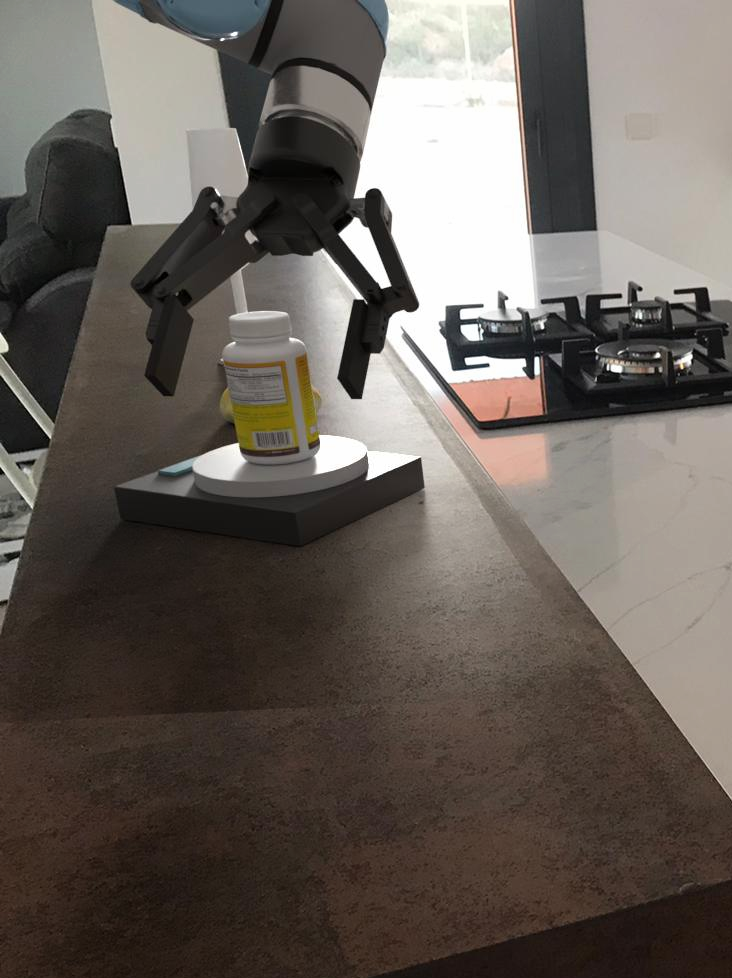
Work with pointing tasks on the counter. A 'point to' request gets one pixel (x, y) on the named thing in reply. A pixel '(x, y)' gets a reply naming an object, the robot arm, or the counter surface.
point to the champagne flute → (219, 179)
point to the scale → (272, 492)
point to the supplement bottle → (270, 390)
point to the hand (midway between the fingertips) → (253, 388)
